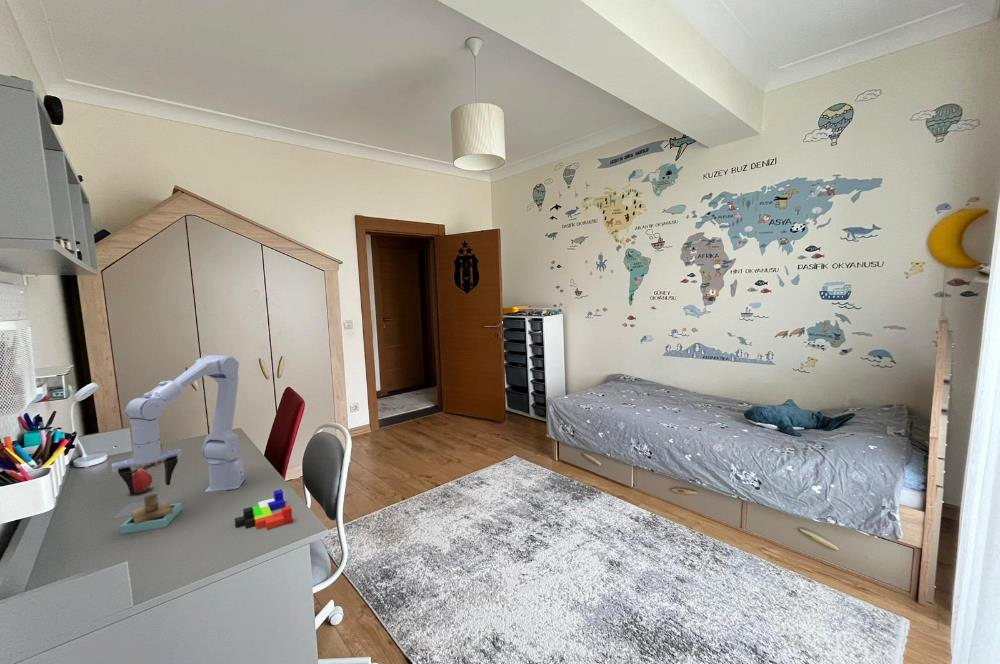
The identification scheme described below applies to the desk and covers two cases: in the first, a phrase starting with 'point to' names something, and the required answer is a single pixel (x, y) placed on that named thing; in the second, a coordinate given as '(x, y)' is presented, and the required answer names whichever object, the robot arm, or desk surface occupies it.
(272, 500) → the building blocks
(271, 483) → the desk surface
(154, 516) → the lid
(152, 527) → the dish
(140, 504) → the mat
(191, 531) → the desk surface
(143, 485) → the pomegranate
